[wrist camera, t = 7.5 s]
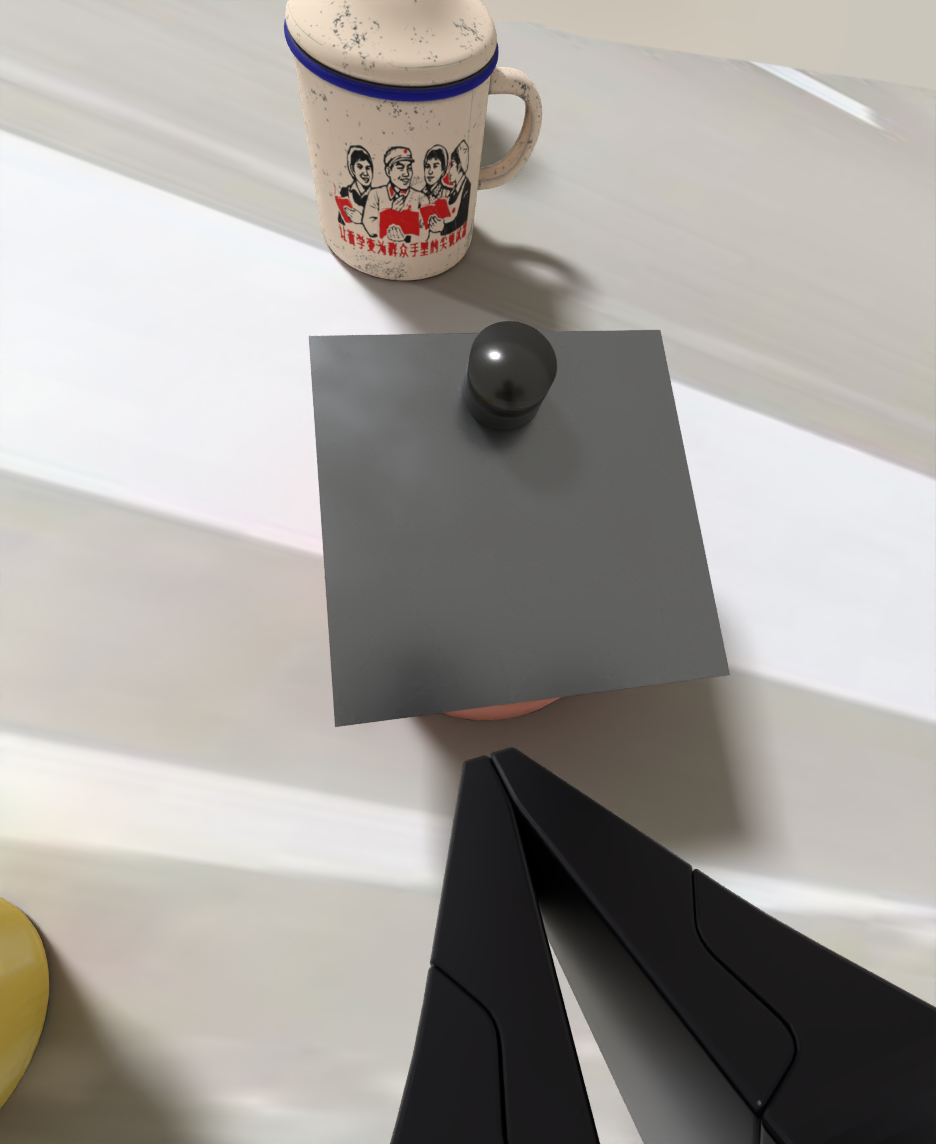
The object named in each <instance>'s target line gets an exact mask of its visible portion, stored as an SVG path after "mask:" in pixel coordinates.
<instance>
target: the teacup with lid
mask: <svg viewBox="0 0 936 1144" xmlns="http://www.w3.org/2000/svg"><path fill="white" fill-rule="evenodd" d="M285 17H286V18H285V22H284V32H285V38H286V41H287V44H288V46H289V48H290V50H291V52H292V53H293V54H294V58H295V64H296V71H297V77H298V84H299V90H300V96H301V103H302V109H303V115H304V122H305V128H306V135H307V141H308V147H309V154H310V160H311V166H312V173H313V179H314V186H315V192H316V198H317V205H318V211H319V217H320V224H321V229H322V233H323V236H324V238H325V240H326V242H327V243H328V245H329V247H330V248H331V249H332V251H333V252H334V253H335V254H336V255H337V256H338V257H339V258H340V259H342V260H343V261H344V262H345V263H347V264H348V265H350V266H352V267H353V268H355V269H357V270H359V271H361V272H364V273H366V274H369V275H372V276H375V277H380V278H384V279H391V280H418V279H424V278H428V277H432V276H435V275H438V274H440V273H443V272H445V271H446V270H448V269H450V268H451V267H453V266H454V265H455V264H457V263H458V262H459V261H460V260H461V259H462V258H463V256H464V255H465V253H466V252H467V250H468V248H469V246H470V243H471V239H472V232H473V224H474V215H475V206H476V197H477V190H484V189H490V188H494V187H497V186H500V185H502V184H504V183H506V182H508V181H509V180H510V179H512V178H513V177H514V176H515V175H516V174H517V173H518V172H519V171H520V170H521V168H522V167H523V166H524V164H525V163H526V162H527V160H528V158H529V157H530V155H531V153H532V151H533V149H534V147H535V144H536V141H537V139H538V135H539V132H540V127H541V121H542V105H541V100H540V97H539V94H538V92H537V90H536V88H535V86H534V84H533V83H532V81H531V80H530V79H529V78H528V77H527V76H526V75H525V74H524V73H522V72H521V71H519V70H517V69H513V68H508V67H496V64H497V61H498V44H497V34H496V30H495V26H494V23H493V20H492V18H491V16H490V14H489V12H488V10H487V9H486V8H485V7H484V5H483V4H482V3H481V2H480V1H479V0H288V2H287V6H286V12H285ZM489 94H513V95H516V96H519V97H520V98H522V99H523V100H524V101H525V105H526V109H525V118H524V122H523V126H522V129H521V132H520V134H519V136H518V138H517V140H516V142H515V144H514V145H513V147H512V148H511V150H510V151H509V152H508V153H507V155H506V156H505V157H504V158H502V159H501V160H500V161H498V162H497V163H494V164H492V165H489V166H485V167H480V162H481V154H482V145H483V136H484V127H485V119H486V110H487V101H488V95H489Z"/></svg>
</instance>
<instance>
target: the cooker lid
mask: <svg viewBox="0 0 936 1144" xmlns="http://www.w3.org/2000/svg"><path fill="white" fill-rule="evenodd" d="M309 346H310V361H311V375H312V390H313V405H314V420H315V435H316V449H317V464H318V479H319V494H320V509H321V523H322V538H323V553H324V568H325V583H326V597H327V612H328V627H329V642H330V656H331V671H332V686H333V701H334V716H335V727H339V726H346V725H354V724H361V723H369V722H377V721H384V720H392V719H399V718H407V717H414V716H422V715H430V714H437V713H445V712H452V711H460V710H468V709H475V708H483V707H490V706H498V705H505V704H513V703H521V702H528V701H536V700H543V699H551V698H559V697H566V696H574V695H581V694H589V693H596V692H604V691H612V690H619V689H627V688H634V687H642V686H650V685H657V684H665V683H672V682H680V681H687V680H695V679H703V678H710V677H718V676H725V675H730V674H729V669H728V664H727V659H726V654H725V649H724V644H723V639H722V634H721V629H720V624H719V619H718V614H717V609H716V604H715V599H714V594H713V589H712V584H711V579H710V575H709V570H708V565H707V560H706V555H705V550H704V545H703V540H702V535H701V530H700V525H699V520H698V515H697V510H696V505H695V500H694V495H693V490H692V485H691V480H690V475H689V470H688V465H687V460H686V455H685V450H684V445H683V441H682V436H681V431H680V426H679V421H678V416H677V411H676V406H675V401H674V396H673V391H672V386H671V381H670V376H669V371H668V366H667V361H666V356H665V351H664V346H663V341H662V336H661V331H660V330H628V331H572V332H539V331H537V330H536V329H534V328H533V327H531V326H528V325H526V324H523V323H519V322H512V321H506V322H499V323H495V324H492V325H490V326H488V327H487V328H485V329H484V330H483V331H481V332H480V333H459V334H402V335H346V336H309Z"/></svg>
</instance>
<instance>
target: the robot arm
mask: <svg viewBox="0 0 936 1144" xmlns="http://www.w3.org/2000/svg"><path fill="white" fill-rule="evenodd" d="M548 940H549V942H550V944H551V946H552V948H553V950H554V953H555V955H556V957H557V959H558V961H559V963H560V965H561V968H562V970H563V972H564V974H565V976H566V978H567V980H568V982H569V985H570V987H571V989H572V991H573V993H574V995H575V997H576V1000H577V1002H578V1004H579V1006H580V1008H581V1010H582V1012H583V1015H584V1017H585V1019H586V1021H587V1023H588V1025H589V1027H590V1029H591V1032H592V1034H593V1036H594V1038H595V1040H596V1042H597V1044H598V1047H599V1049H600V1051H601V1053H602V1055H603V1057H604V1059H605V1062H606V1064H607V1066H608V1068H609V1070H610V1072H611V1074H612V1076H613V1079H614V1081H615V1083H616V1085H617V1087H618V1089H619V1091H620V1094H621V1096H622V1098H623V1100H624V1102H625V1104H626V1106H627V1109H628V1111H629V1113H630V1115H631V1117H632V1119H633V1121H634V1123H635V1126H636V1128H637V1130H638V1132H639V1134H640V1136H641V1138H642V1141H643V1143H644V1144H936V1007H934V1006H933V1005H931V1004H929V1003H927V1002H925V1001H923V1000H922V999H920V998H918V997H916V996H914V995H912V994H911V993H909V992H907V991H905V990H903V989H901V988H900V987H898V986H896V985H894V984H892V983H890V982H889V981H887V980H885V979H883V978H881V977H879V976H878V975H876V974H874V973H872V972H870V971H868V970H867V969H865V968H863V967H861V966H859V965H857V964H856V963H854V962H852V961H850V960H848V959H847V958H845V957H843V956H841V955H839V954H837V953H836V952H834V951H832V950H830V949H828V948H826V947H825V946H823V945H821V944H819V943H817V942H816V941H814V940H812V939H810V938H809V937H807V936H805V935H803V934H802V933H800V932H798V931H796V930H795V929H793V928H791V927H789V926H788V925H786V924H784V923H782V922H781V921H779V920H777V919H775V918H774V917H772V916H770V915H768V914H767V913H765V912H763V911H762V910H760V909H759V908H757V907H755V906H754V905H752V904H751V903H749V902H748V901H746V900H744V899H743V898H741V897H740V896H738V895H736V894H735V893H733V892H732V891H730V890H729V889H727V888H725V887H724V886H722V885H721V884H719V883H718V882H716V881H715V880H713V879H712V878H710V877H709V876H707V875H706V874H704V873H703V872H701V871H700V870H698V869H694V870H693V869H692V866H691V865H690V864H689V863H687V862H686V861H684V860H683V859H681V858H680V857H678V856H677V855H675V854H674V853H672V852H671V851H669V850H668V849H666V848H665V847H663V846H662V845H660V844H659V843H657V842H656V841H654V840H653V839H651V838H649V837H648V836H646V835H645V834H643V833H642V832H640V831H639V830H637V829H636V828H634V827H633V826H631V825H630V824H628V823H627V822H625V821H624V820H622V819H621V818H619V817H618V816H616V815H615V814H613V813H612V812H610V811H609V810H607V809H606V808H604V807H603V806H601V805H600V804H598V803H597V802H595V801H594V800H592V799H591V798H589V797H588V796H586V795H585V794H583V793H582V792H580V791H579V790H577V789H576V788H574V787H573V786H571V785H570V784H568V783H567V782H565V781H564V780H562V779H561V778H559V777H558V776H556V775H555V774H553V773H552V772H550V771H549V770H547V769H546V768H544V767H543V766H541V765H540V764H538V763H537V762H535V761H534V760H532V759H530V758H529V757H527V756H526V755H524V754H523V753H521V752H520V751H518V750H517V749H515V748H512V747H511V748H506V749H503V750H500V751H497V752H493V753H491V754H490V757H488V756H485V755H484V756H480V757H477V758H474V759H470V760H467V761H465V762H464V763H463V766H462V772H461V778H460V784H459V790H458V796H457V802H456V808H455V814H454V820H453V826H452V832H451V838H450V844H449V850H448V857H447V863H446V869H445V875H444V881H443V887H442V893H441V899H440V905H439V911H438V917H437V923H436V929H435V935H434V941H433V947H432V954H431V960H430V965H431V967H430V968H429V970H428V976H427V982H426V988H425V994H424V1000H423V1005H422V1010H421V1015H420V1021H419V1026H418V1031H417V1036H416V1041H415V1046H414V1051H413V1056H412V1060H411V1064H410V1068H409V1072H408V1076H407V1080H406V1084H405V1088H404V1092H403V1096H402V1100H401V1104H400V1108H399V1112H398V1116H397V1120H396V1124H395V1128H394V1131H393V1135H392V1139H391V1142H390V1144H600V1142H599V1138H598V1134H597V1130H596V1126H595V1122H594V1118H593V1114H592V1110H591V1107H590V1103H589V1099H588V1095H587V1091H586V1087H585V1083H584V1079H583V1075H582V1071H581V1067H580V1064H579V1060H578V1056H577V1052H576V1048H575V1044H574V1040H573V1036H572V1032H571V1028H570V1024H569V1021H568V1017H567V1013H566V1009H565V1005H564V1001H563V997H562V993H561V989H560V985H559V981H558V978H557V974H556V970H555V966H554V962H553V958H552V954H551V950H550V946H549V942H548Z"/></svg>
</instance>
